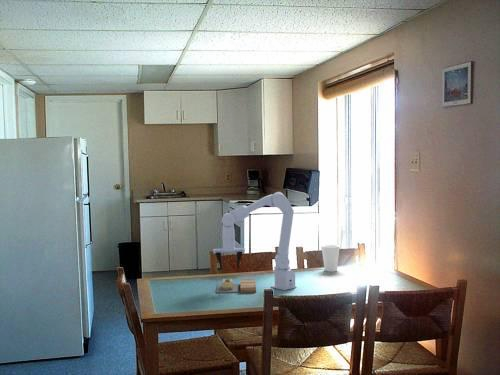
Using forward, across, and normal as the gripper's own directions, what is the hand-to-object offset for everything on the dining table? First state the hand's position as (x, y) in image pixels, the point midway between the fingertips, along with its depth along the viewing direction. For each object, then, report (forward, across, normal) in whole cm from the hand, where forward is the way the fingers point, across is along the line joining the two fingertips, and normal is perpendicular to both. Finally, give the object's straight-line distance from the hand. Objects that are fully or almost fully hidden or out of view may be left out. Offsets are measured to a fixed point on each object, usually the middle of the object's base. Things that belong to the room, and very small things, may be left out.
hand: (229, 268), depth 272 cm
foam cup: (+10, -53, -35) cm, 65 cm away
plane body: (+10, -8, +1) cm, 13 cm away
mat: (+9, +1, +1) cm, 9 cm away
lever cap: (+9, +1, +1) cm, 9 cm away
